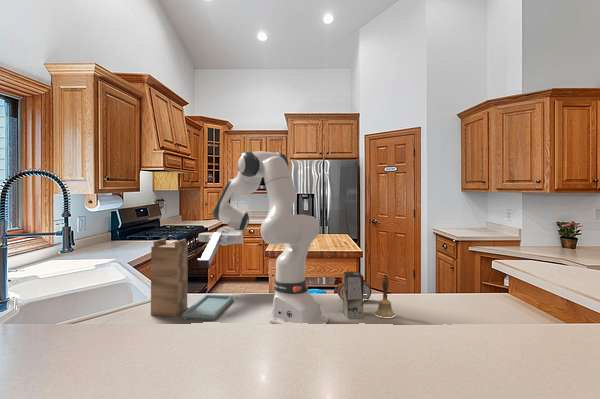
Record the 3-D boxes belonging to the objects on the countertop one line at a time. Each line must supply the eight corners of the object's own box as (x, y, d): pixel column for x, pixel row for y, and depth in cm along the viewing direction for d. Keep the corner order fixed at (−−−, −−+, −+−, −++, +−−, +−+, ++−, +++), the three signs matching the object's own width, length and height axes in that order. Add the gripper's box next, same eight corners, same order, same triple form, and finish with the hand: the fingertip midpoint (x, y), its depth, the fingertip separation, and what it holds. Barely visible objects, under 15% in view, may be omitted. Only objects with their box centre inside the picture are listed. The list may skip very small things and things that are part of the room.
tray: (205, 298, 150) (205, 294, 150) (232, 300, 149) (232, 295, 149) (182, 318, 126) (182, 313, 126) (213, 320, 125) (214, 315, 125)
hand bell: (369, 313, 136) (370, 273, 136) (386, 310, 139) (387, 271, 139) (382, 320, 128) (383, 278, 128) (400, 317, 132) (401, 276, 131)
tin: (370, 299, 153) (370, 281, 153) (371, 301, 150) (372, 282, 150) (337, 299, 153) (337, 280, 152) (338, 301, 150) (338, 282, 149)
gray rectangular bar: (214, 237, 155) (212, 230, 153) (223, 237, 154) (222, 230, 152) (199, 267, 138) (197, 259, 135) (209, 267, 137) (208, 260, 135)
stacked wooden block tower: (163, 306, 139) (164, 238, 139) (187, 307, 138) (187, 238, 138) (150, 315, 129) (151, 241, 129) (176, 316, 128) (176, 242, 128)
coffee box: (363, 318, 129) (364, 276, 129) (347, 318, 129) (347, 276, 129) (357, 310, 139) (358, 271, 138) (342, 310, 138) (343, 271, 138)
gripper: (204, 228, 164) (192, 231, 151) (245, 230, 163) (238, 233, 149) (204, 241, 165) (192, 246, 151) (245, 243, 163) (237, 247, 149)
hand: (215, 239), depth 150 cm, fingers closed on gray rectangular bar, 3 cm apart
